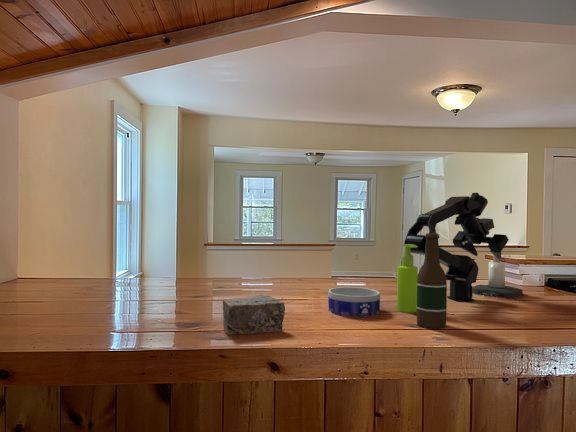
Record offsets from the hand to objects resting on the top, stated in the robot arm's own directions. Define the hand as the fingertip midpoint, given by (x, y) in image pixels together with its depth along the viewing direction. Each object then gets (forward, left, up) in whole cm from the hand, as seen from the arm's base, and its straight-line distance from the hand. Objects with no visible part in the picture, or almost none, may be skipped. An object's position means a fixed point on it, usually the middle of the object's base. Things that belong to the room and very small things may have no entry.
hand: (488, 257), depth 148 cm
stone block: (-89, -29, -14) cm, 95 cm away
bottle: (+5, +1, -11) cm, 12 cm away
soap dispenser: (-41, -18, -14) cm, 47 cm away
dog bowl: (-57, -15, -14) cm, 61 cm away
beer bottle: (-43, -34, -14) cm, 57 cm away
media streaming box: (+5, +1, -14) cm, 15 cm away
